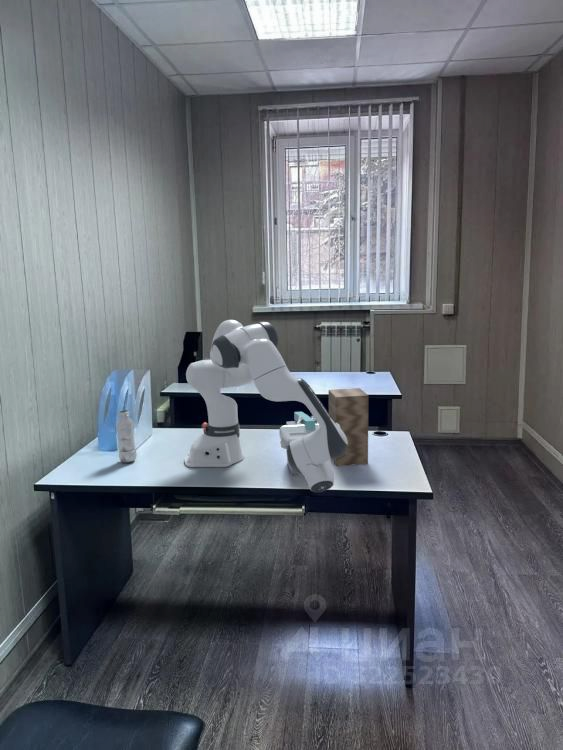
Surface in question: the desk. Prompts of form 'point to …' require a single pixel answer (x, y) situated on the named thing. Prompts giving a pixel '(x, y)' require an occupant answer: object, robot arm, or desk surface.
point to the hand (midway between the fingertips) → (306, 417)
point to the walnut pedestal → (351, 423)
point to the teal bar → (305, 420)
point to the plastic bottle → (126, 437)
